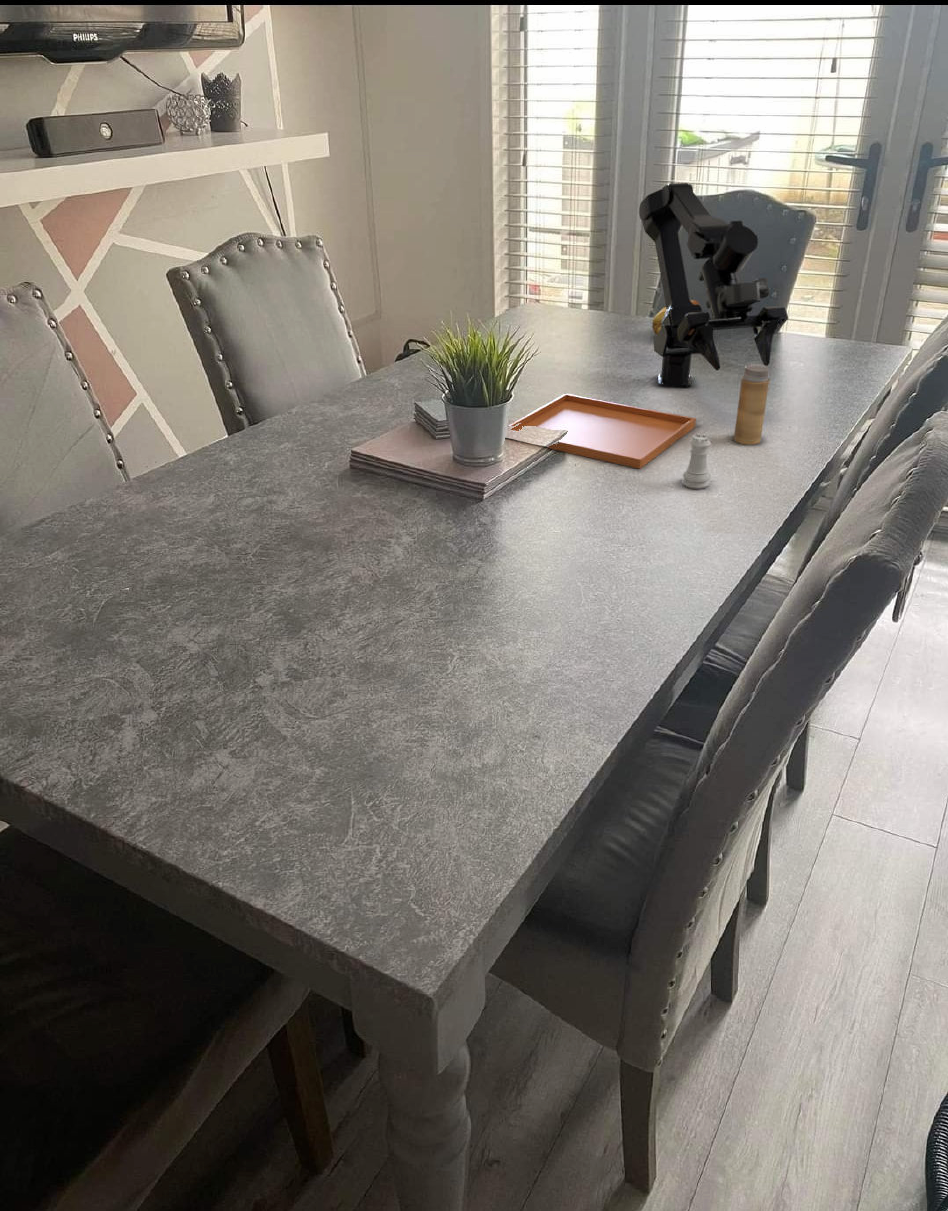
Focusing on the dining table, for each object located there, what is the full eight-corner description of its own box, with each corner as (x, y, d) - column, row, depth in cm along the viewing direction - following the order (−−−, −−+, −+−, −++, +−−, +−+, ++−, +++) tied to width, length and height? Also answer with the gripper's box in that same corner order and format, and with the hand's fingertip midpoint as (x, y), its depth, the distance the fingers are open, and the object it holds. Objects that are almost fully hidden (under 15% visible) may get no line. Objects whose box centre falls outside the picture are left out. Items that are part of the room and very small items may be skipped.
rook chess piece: (708, 478, 155) (713, 431, 151) (711, 490, 151) (717, 442, 147) (680, 478, 156) (685, 431, 151) (682, 489, 152) (687, 441, 148)
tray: (564, 401, 189) (565, 393, 188) (695, 426, 176) (696, 418, 175) (501, 437, 172) (501, 429, 172) (640, 468, 159) (640, 459, 158)
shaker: (733, 434, 172) (742, 362, 165) (759, 436, 171) (770, 363, 164) (734, 443, 168) (743, 370, 161) (761, 445, 167) (772, 372, 161)
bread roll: (677, 346, 219) (681, 310, 215) (639, 340, 224) (642, 305, 220) (701, 333, 228) (705, 299, 224) (664, 327, 233) (667, 293, 229)
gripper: (689, 264, 162) (710, 347, 159) (791, 258, 165) (813, 339, 162) (668, 301, 173) (686, 379, 169) (764, 294, 176) (784, 371, 172)
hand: (742, 367), depth 168 cm, fingers open, 9 cm apart
